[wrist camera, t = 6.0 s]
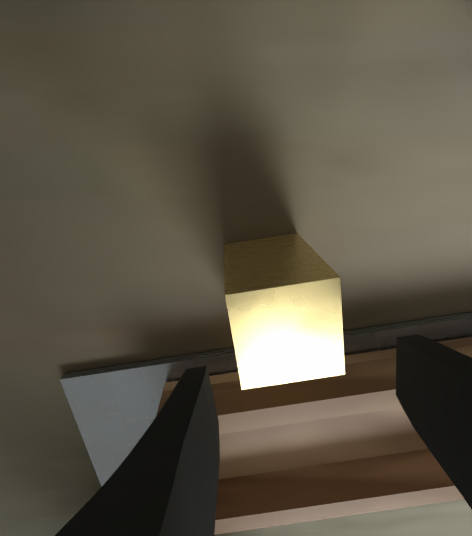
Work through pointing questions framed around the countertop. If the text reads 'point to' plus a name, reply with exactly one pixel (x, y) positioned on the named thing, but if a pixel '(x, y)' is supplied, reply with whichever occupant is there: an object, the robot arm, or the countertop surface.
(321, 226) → the countertop surface
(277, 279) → the block
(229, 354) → the track
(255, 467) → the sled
